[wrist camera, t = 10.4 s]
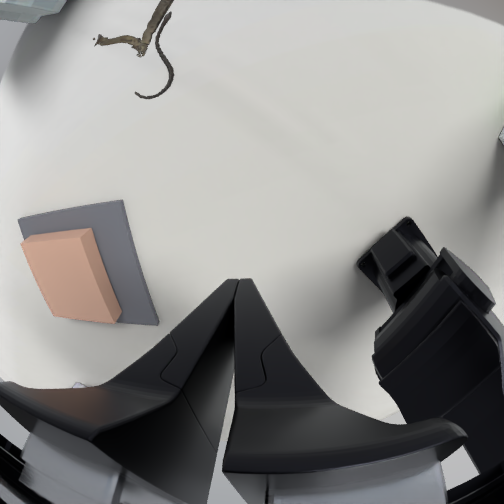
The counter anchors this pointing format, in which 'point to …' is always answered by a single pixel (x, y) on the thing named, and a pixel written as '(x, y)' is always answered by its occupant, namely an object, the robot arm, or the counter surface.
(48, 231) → the mat
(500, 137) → the skincare box
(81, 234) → the tile
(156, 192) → the counter surface
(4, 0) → the device
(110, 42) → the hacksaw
